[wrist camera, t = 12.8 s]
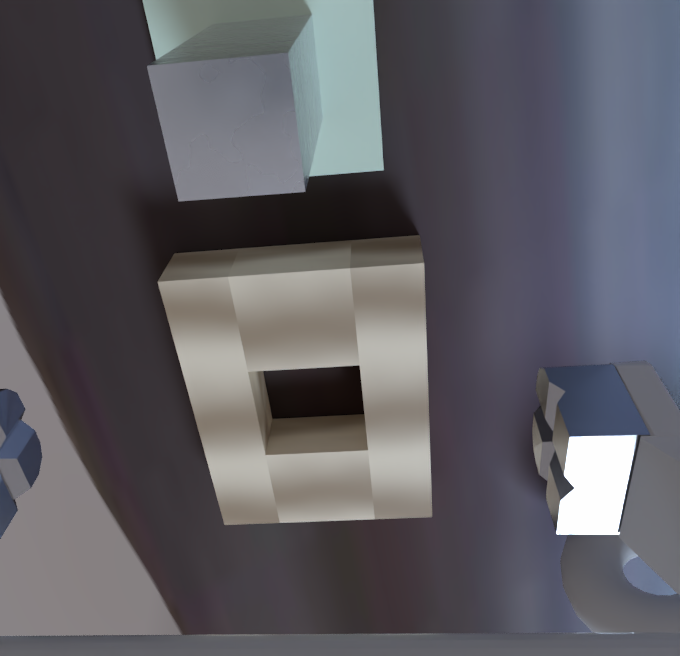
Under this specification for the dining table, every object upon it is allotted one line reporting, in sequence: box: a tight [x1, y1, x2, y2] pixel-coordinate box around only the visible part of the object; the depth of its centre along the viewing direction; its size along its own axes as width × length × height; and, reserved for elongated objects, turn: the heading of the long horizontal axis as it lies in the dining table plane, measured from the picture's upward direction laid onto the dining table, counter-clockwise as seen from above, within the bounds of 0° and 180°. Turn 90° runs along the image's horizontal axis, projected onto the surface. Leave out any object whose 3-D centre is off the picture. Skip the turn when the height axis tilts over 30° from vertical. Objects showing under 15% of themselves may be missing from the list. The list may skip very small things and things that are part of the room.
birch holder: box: [158, 235, 432, 525], centre depth 34 cm, size 16×12×3 cm
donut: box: [561, 534, 680, 633], centre depth 36 cm, size 10×4×10 cm, turn 104°
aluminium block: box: [147, 14, 323, 201], centre depth 23 cm, size 4×4×9 cm
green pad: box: [142, 0, 384, 176], centre depth 27 cm, size 9×9×1 cm
